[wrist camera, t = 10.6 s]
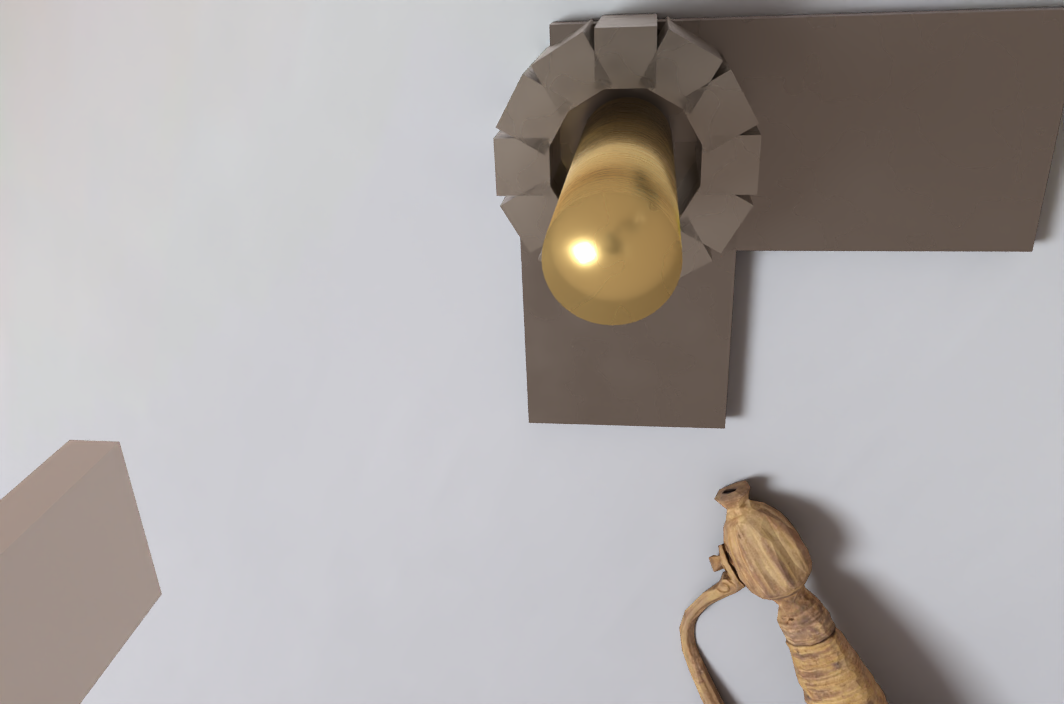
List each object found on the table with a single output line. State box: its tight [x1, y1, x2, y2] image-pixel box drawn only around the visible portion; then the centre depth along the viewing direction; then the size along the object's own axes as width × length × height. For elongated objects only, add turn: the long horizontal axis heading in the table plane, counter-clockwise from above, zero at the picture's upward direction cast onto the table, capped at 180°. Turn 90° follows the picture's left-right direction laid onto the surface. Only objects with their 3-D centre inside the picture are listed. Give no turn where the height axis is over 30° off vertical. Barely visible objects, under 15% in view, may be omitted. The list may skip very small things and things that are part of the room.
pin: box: [542, 97, 683, 325], centre depth 29 cm, size 4×4×14 cm
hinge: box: [494, 7, 1064, 428], centre depth 35 cm, size 18×21×5 cm
